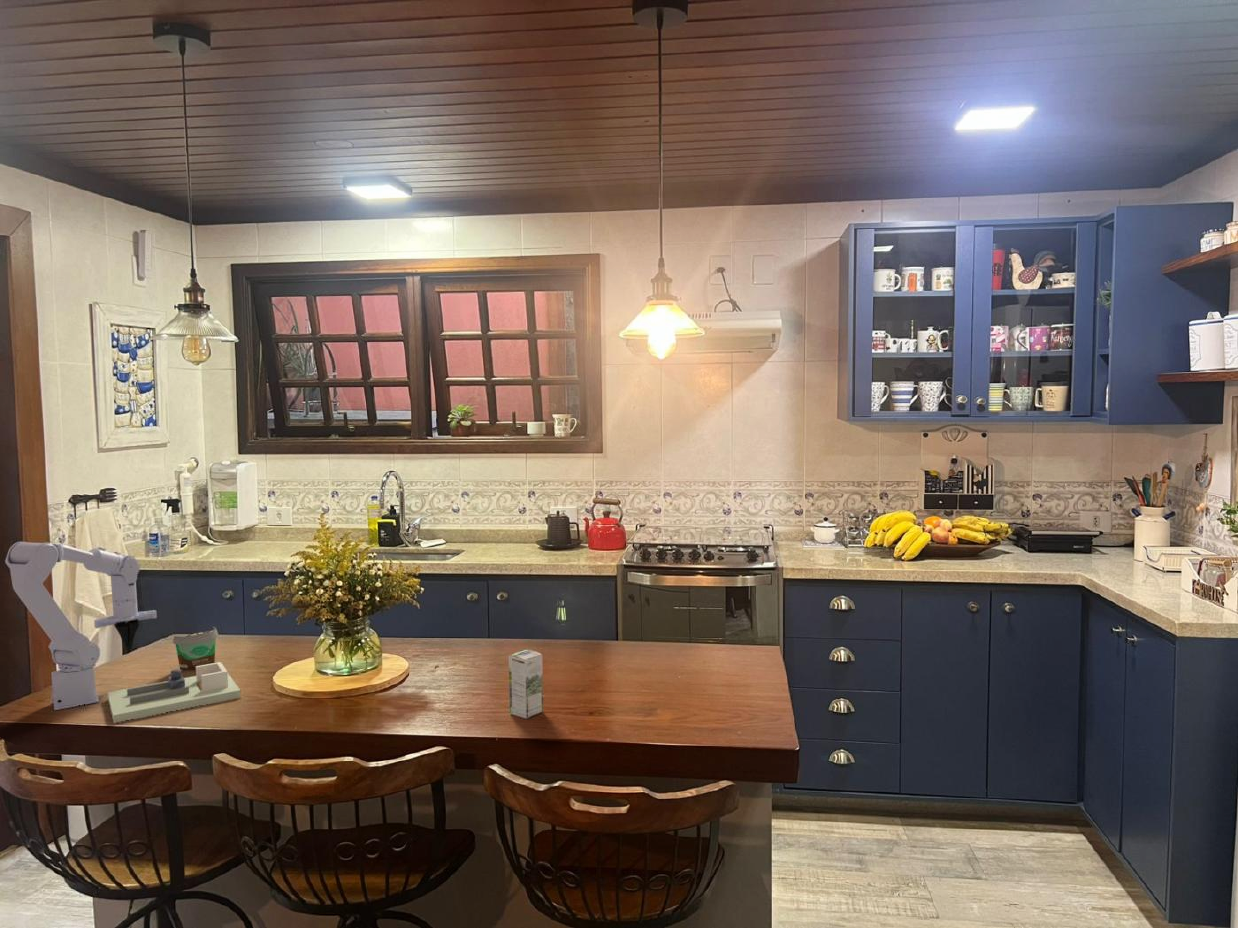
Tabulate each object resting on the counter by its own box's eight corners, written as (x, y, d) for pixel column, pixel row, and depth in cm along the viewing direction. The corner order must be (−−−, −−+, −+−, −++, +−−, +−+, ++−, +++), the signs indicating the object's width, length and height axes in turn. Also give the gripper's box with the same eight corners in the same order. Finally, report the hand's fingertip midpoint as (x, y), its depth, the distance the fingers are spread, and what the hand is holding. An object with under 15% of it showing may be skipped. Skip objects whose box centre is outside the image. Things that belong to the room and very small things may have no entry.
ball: (199, 694, 219) (201, 681, 219) (197, 690, 222) (199, 677, 222) (214, 693, 221) (216, 680, 221) (212, 690, 224) (213, 676, 224)
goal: (202, 691, 216) (201, 676, 216) (196, 681, 224) (195, 666, 224) (228, 686, 219) (227, 671, 219) (221, 676, 228) (220, 661, 227)
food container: (185, 674, 236) (182, 639, 236) (174, 670, 240) (172, 636, 239) (228, 662, 246) (226, 629, 245) (217, 659, 250) (215, 626, 249)
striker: (172, 694, 214) (170, 674, 214) (169, 687, 219) (167, 668, 218) (185, 691, 216) (184, 672, 215) (182, 685, 221) (180, 666, 220)
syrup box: (526, 707, 205) (524, 648, 204) (544, 712, 201) (542, 652, 200) (509, 714, 201) (507, 654, 200) (527, 719, 197) (525, 658, 196)
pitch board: (113, 723, 201) (112, 708, 201) (107, 699, 217) (106, 686, 217) (240, 697, 217) (240, 683, 216) (226, 677, 233) (225, 664, 233)
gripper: (96, 606, 221) (100, 657, 222) (158, 597, 231) (161, 646, 232) (91, 602, 226) (95, 652, 227) (151, 593, 236) (155, 640, 237)
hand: (128, 648), depth 230 cm, fingers closed
